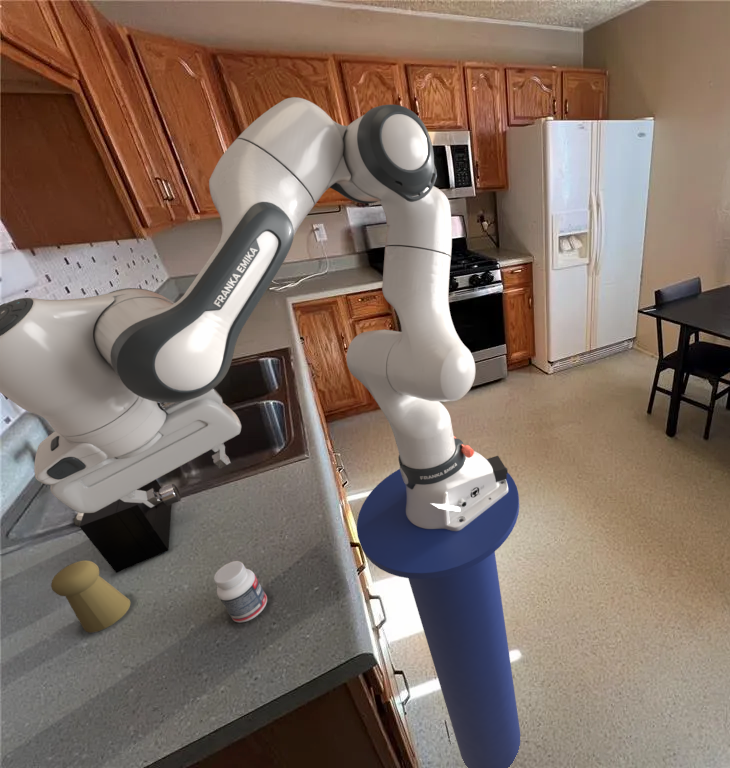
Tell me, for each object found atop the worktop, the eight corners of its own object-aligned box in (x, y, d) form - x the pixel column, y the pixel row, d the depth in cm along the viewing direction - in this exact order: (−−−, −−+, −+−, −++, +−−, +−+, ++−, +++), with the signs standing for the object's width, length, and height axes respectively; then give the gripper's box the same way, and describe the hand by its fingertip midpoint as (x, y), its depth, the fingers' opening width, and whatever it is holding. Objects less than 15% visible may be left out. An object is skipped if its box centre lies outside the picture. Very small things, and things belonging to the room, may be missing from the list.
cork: (96, 604, 71) (57, 561, 65) (137, 592, 72) (103, 549, 67) (75, 638, 65) (32, 593, 60) (120, 624, 67) (81, 580, 62)
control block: (171, 504, 92) (145, 461, 86) (168, 550, 80) (137, 504, 74) (126, 521, 88) (95, 478, 82) (116, 573, 76) (79, 526, 71)
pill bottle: (272, 606, 68) (252, 570, 64) (237, 630, 65) (213, 593, 60) (262, 587, 71) (242, 551, 67) (228, 608, 68) (205, 573, 64)
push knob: (181, 493, 87) (173, 480, 85) (181, 504, 84) (172, 489, 82) (150, 505, 84) (141, 491, 82) (149, 516, 81) (139, 502, 80)
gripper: (202, 369, 57) (257, 431, 67) (22, 453, 50) (113, 509, 59) (211, 392, 54) (267, 454, 63) (17, 487, 46) (115, 541, 55)
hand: (191, 481), depth 61 cm, fingers open, 8 cm apart
